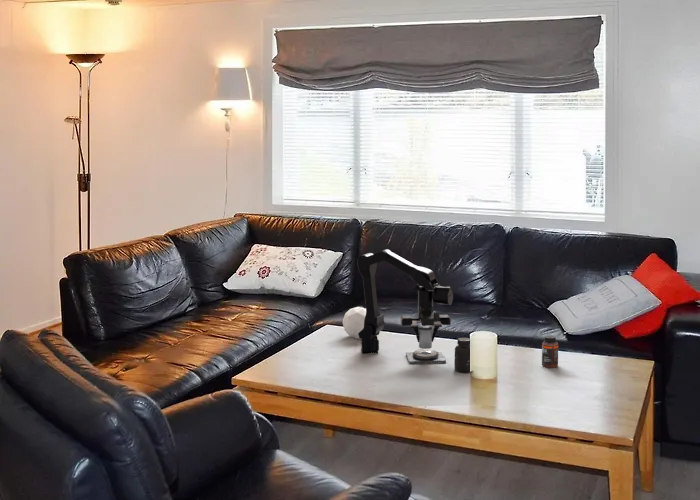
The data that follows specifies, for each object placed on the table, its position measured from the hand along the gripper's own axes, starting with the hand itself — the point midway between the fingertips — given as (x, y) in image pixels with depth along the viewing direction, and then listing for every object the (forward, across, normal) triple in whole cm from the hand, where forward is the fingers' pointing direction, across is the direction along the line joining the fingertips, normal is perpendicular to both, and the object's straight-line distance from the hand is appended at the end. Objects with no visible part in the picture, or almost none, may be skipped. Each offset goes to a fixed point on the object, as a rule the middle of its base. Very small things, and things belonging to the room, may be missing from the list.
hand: (425, 341), depth 317 cm
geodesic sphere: (+7, -24, +34) cm, 43 cm away
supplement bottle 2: (+7, +45, -13) cm, 47 cm away
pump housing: (+2, 0, 0) cm, 2 cm away
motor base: (+7, 0, 0) cm, 7 cm away
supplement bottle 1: (+7, +12, -16) cm, 21 cm away
